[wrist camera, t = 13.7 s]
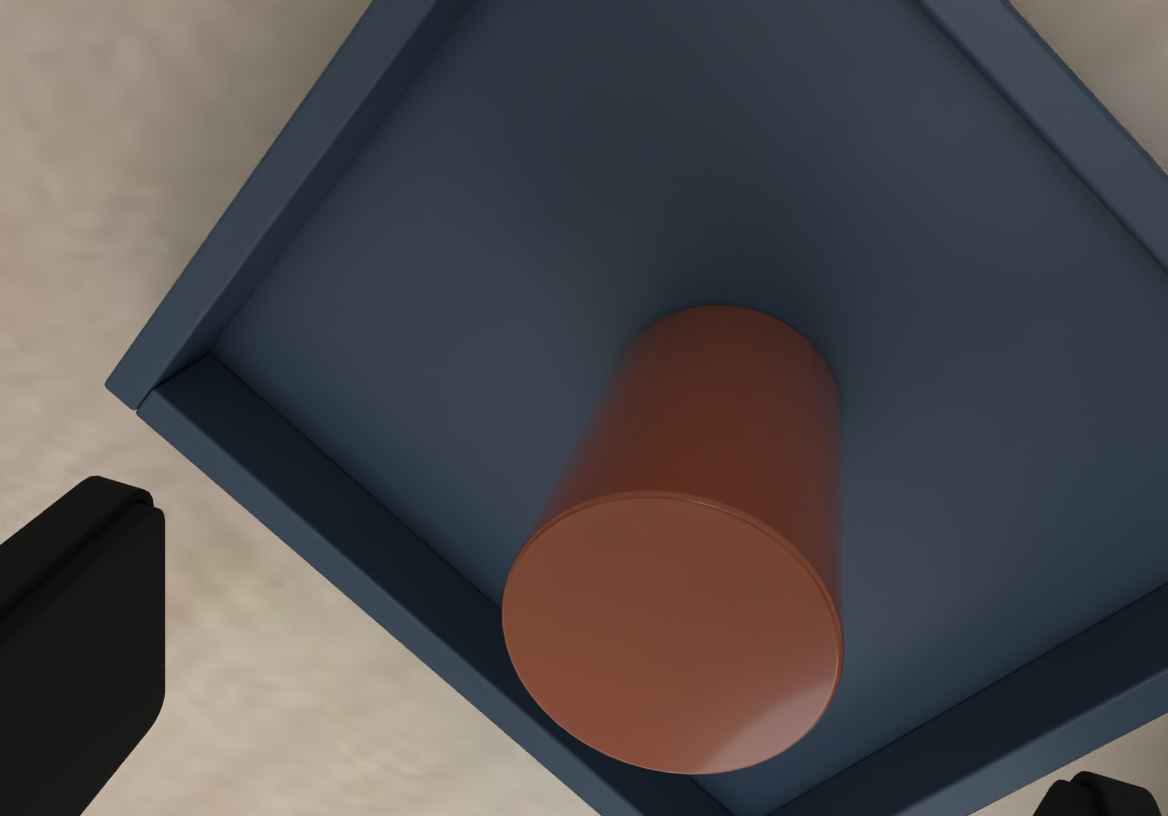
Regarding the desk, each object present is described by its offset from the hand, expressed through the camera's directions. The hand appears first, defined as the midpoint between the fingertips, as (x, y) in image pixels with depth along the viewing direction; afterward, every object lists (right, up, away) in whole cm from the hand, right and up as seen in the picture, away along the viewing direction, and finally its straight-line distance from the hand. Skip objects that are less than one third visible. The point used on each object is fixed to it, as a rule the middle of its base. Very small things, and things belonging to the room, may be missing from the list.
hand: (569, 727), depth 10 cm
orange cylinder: (+3, +3, +9) cm, 9 cm away
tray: (+3, +4, +9) cm, 10 cm away
